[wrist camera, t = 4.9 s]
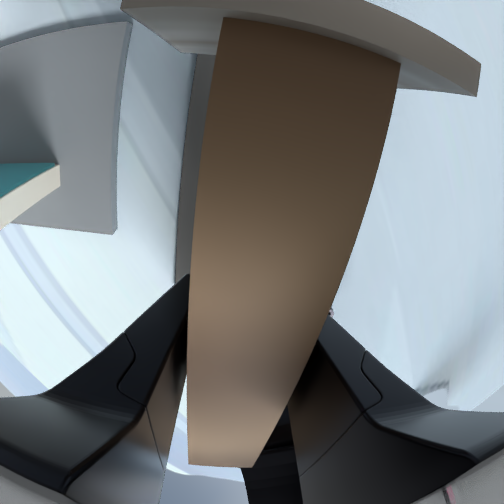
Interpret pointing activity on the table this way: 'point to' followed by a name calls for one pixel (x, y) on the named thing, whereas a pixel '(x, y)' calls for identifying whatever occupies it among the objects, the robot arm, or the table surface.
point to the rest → (192, 161)
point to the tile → (24, 187)
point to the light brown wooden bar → (282, 187)
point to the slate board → (67, 120)
